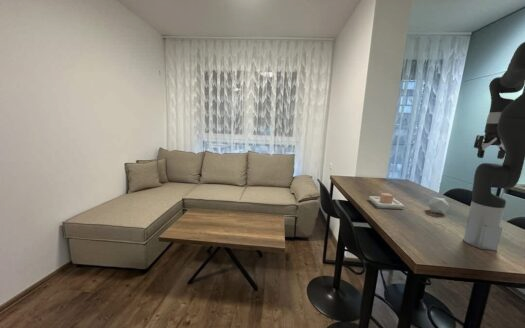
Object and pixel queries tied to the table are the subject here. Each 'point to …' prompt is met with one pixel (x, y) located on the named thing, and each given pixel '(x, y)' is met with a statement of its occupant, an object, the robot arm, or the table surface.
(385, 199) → the cube
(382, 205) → the tray
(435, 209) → the die
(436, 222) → the table surface
